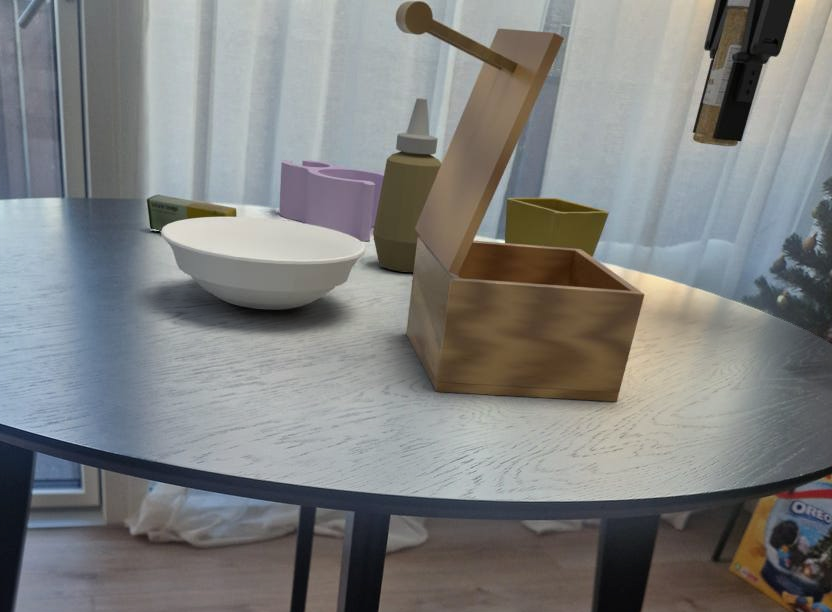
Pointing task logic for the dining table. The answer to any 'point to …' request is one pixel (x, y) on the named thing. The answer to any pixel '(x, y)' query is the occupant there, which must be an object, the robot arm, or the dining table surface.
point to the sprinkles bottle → (722, 72)
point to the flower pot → (553, 223)
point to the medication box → (182, 210)
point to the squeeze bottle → (405, 192)
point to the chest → (522, 322)
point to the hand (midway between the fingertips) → (716, 136)
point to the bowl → (262, 259)
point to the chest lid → (479, 127)
